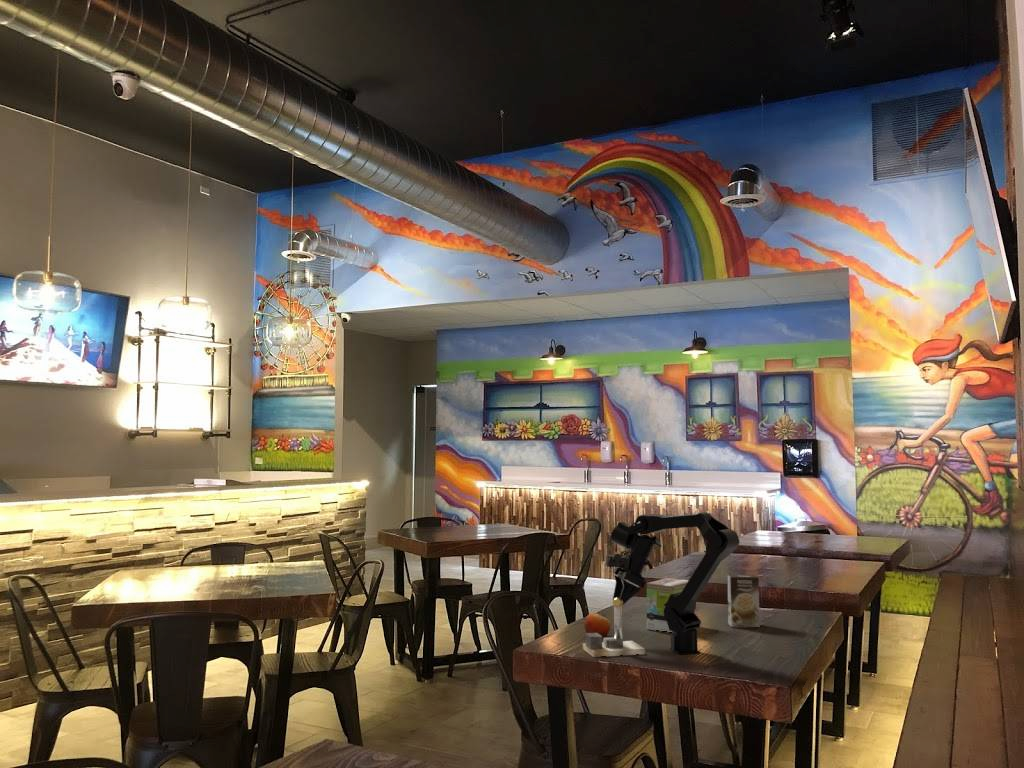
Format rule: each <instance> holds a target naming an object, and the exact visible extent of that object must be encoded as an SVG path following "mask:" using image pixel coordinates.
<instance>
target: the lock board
mask: <svg viewBox="0 0 1024 768" xmlns="http://www.w3.org/2000/svg"><path fill="white" fill-rule="evenodd" d="M584 635H585V637H584V638H585V643H582V650H584V651H585V652H587V654H589V655H590V656H592V657H593V658H601V656H606V657H620V655H623V656H635V655H636V654H639V655H646V648H645V647H643V646H642V645H640V644H638V643H636V642H635V641H633V640H625V641H624V640H623V639H622V640H608V647H605V646H603V637H602V636H601V635H599V634H598V633H586V632H585V633H584ZM604 638H614V636H605V637H604Z"/></svg>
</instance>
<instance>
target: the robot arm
mask: <svg viewBox="0 0 1024 768" xmlns="http://www.w3.org/2000/svg"><path fill="white" fill-rule="evenodd" d="M680 528H681V529H683V528H684V529H685V528H696V529H698V530H699V532H700V534H701V536H702V537H703V538H704V540H706V544H705V551H704V552H705V553H704V556H703V557H702V558H701V560H700V562H699V563H698V565H697V566H696V568H695V570H694V571H693V573H692V575H691V576H690V578H689V579H688V580H689V581H688V582H687V584H686V585H685V587H684V589H683V590H682V592H679V593H675V594H671V595H670V597H669V599H668V601H667V602H666V603H665V604H664V606H665V608H664V611H663V613H664V616H665V619H666V621H667V624H668V627H669V630H670V631H672V633H670V647H669V649H670V651H672V650H673V651H672V652H674V653H676V654H677V655H689V654H690V655H691V654H700V653H701V651H700V650H699V649H698V630H697V629H700V626H701V624H702V621H701V619H700V618H699V616H697V614H696V613H695V611H696V608H697V607H696V606H697V600H698V598H699V597H700V595H701V594H702V592H703V590H704V588H705V587H706V585H707V584H708V582H709V581H710V580H711V578H712V576H713V575H714V573H715V571H716V570H717V568H718V567H719V565H720V564H721V562H722V561H723V560H725V559H726V558H727V557H729V556H730V555H731V554H732V553H733V552H734V551H735V550H736V549H737V548H738V547H739V545H740V537H739V535H738V533H737V532H736V531H735V530H733V529H730V528H729V527H728V526H727V525H726V524H724V523H722V522H721V521H719V520H718V519H716V518H715V517H714V516H712V515H711V514H710V513H709V512H706V511H704V512H697V513H692V514H691V513H690V514H678V515H677V514H676V515H664V514H659V513H648V514H645V513H644V514H640V515H637V517H636V519H635V521H634V522H633V523H632V524H631V525H630V524H627V523H626V522H624V521H618V522H617V524H616V526H615V527H614V528H613V530H612V532H611V533H610V541H611V542H612V543H614V544H616V545H617V546H621V547H622V548H624V549H627V550H630V551H629V552H627V553H625V555H624V556H622V555H621V554H620V553H614V554H612V555H611V554H606V555H605V565H604V566H605V567H607V568H614V570H613V572H612V573H613V575H612V576H613V578H614V581H615V584H614V585H615V586H614V591H613V596H612V600H613V599H614V598H616V597H619V598H621V599H622V600H623V605H622V606H624V605H625V604H626V603H627V602H628V601H629V600H630V599H632V597H634V596H635V595H636V594H637V593H638V592H639V591H641V590H642V589H644V588H645V586H646V584H647V583H646V579H645V577H644V576H643V575H642V574H643V571H644V569H645V566H648V563H649V562H648V561H649V558H650V555H651V553H652V551H653V549H654V547H655V546H656V547H659V548H661V547H662V544H661V541H660V537H658V536H657V535H654V536H650V535H649V534H658V533H660V532H664V531H667V530H669V529H671V530H672V529H680Z"/></svg>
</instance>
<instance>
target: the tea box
mask: <svg viewBox="0 0 1024 768" xmlns="http://www.w3.org/2000/svg"><path fill="white" fill-rule="evenodd" d="M688 581H689V579H681V578H679V579H678V578H673V577H672V578H669V577H667V578H662V579H659V580H658V579H657V580H655V581H650V582H647V583H646V629H647V630H651V631H656V630H659V631H658V632H662V631H667V632H666V633H669V632H672V631H670V630H669V627H668V624H667V621H666V619H665V616H664V613H663V611H664V608H665V606H664V604H665V603H666V602H667V601H668V599H669V597H670V595H671V594H675V593H679V592H682V590H683V589H684V587H685V585H686V584H687V582H688Z"/></svg>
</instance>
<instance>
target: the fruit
mask: <svg viewBox="0 0 1024 768" xmlns="http://www.w3.org/2000/svg"><path fill="white" fill-rule="evenodd" d="M611 625H612V624H611V621H609V619H608V618H606V617H604V616H603V615H601V614H599V613H596V612H595V613H589V614H588V615H587V616H586V618H585V620H584V630H585V633H598V634H599V635H601V636H602V639H603V638H604V637H607V636H608V634H609V632H610V630H611V627H612V626H611Z"/></svg>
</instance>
